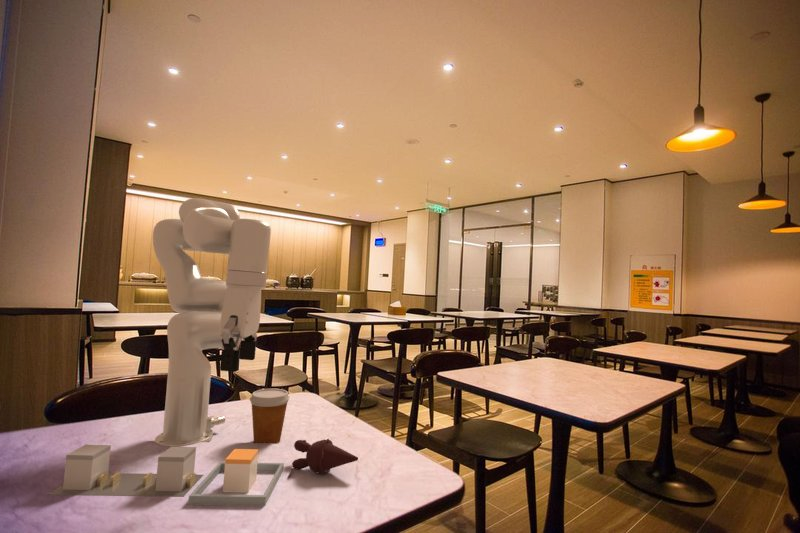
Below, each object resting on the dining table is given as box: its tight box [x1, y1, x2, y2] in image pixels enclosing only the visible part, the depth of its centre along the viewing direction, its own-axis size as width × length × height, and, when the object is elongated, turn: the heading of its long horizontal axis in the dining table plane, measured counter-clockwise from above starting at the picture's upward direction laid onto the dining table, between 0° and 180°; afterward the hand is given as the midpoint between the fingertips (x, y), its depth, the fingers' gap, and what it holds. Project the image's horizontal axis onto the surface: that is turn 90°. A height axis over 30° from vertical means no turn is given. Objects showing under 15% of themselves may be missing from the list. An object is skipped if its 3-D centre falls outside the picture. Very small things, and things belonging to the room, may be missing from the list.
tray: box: [187, 461, 285, 507], centre depth 72 cm, size 13×13×2 cm
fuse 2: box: [155, 446, 197, 491], centre depth 72 cm, size 5×5×6 cm
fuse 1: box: [62, 444, 112, 490], centre depth 71 cm, size 5×5×6 cm
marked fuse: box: [222, 448, 259, 493], centre depth 72 cm, size 5×5×6 cm
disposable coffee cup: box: [249, 388, 291, 445], centre depth 96 cm, size 10×10×12 cm
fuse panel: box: [47, 471, 204, 498], centre depth 71 cm, size 8×23×3 cm, turn 94°
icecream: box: [291, 438, 359, 475], centre depth 81 cm, size 7×7×15 cm
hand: (238, 364), depth 77 cm, fingers open, 9 cm apart
